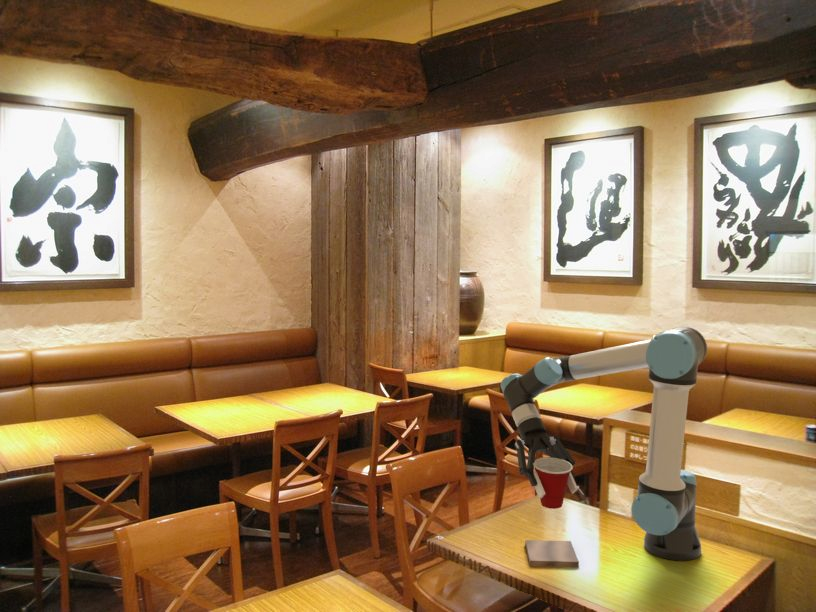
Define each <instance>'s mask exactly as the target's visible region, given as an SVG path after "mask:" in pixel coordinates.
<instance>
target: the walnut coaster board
mask: <svg viewBox="0 0 816 612" xmlns="http://www.w3.org/2000/svg"><path fill="white" fill-rule="evenodd" d="M524 541H525V542H524V543H525V550H526V554H527V557H528V562H529V566H530V567H551V568H552V567H556V568H557V567H559V568H560V567H561V568H579V567H580V564H579V563H580V561H579V559H578V557H577V554H576V551H575V548H574V547H573V544H572V541H571V540H536V539H534V540H533V539H525V540H524Z"/></svg>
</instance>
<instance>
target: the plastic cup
mask: <svg viewBox="0 0 816 612" xmlns="http://www.w3.org/2000/svg"><path fill="white" fill-rule="evenodd" d="M533 465H534V470H535V471H534V472H537V474H538V476H539V479H540V481H541V484H542V486H543V489H544V491H545V495H544V496H543V497H542V498H540V505H541V506H542V507H544V508H545V509H551V510H552V509H553V510H554V509H555V510H556V509H560V508H562V507H563V504H564V500H565V495H566V491H567V486H568V484H567V481H568V477H569V474H570V472H571V470H572V471H573V469H574V468H573V467H574V466H573V467H572V464H570V463H569V462H567V461H565V460H563V459H558V458H551V457H550V456H547V457H546V456H545V457H539V458H535V462H534V463H533Z"/></svg>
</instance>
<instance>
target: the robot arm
mask: <svg viewBox="0 0 816 612" xmlns="http://www.w3.org/2000/svg"><path fill="white" fill-rule="evenodd" d="M706 341H707V340H706V339H705V337H704V336H703V334H702V333H701V332H700V331H698V330H697V329H695V328H693V327H691V326H690V327H689V326H683V325H682V326H678V327H677V326H676V327H674V328H671V329H668V330H667V329H666V330H663V331H661V332H659V333H658V334H654V335H653V336H652V337H651V339H646V340H645V339H644V340H641V341H636V342H631V343H626V344H621V345H617V346H616V345H615V346H611V347H606V348H601V349H596V350H593V351H587V352H582V353H577V354H572V355H567V356H558V357H555V358H552V357H550V356H547V357H544V358H543V359H541V360H538V362H536V363H535V364H534V365H533V366H532V367H531V368H529V369H528V370H527V371H526V372H525V373H523V374H520V373H512V374H510V375H508V376H505V377H504V378H503V379H502V380H501V382H500V388H501V392H502V395H503V398H504V399H505V401H506V403H507V406H508V409H509V411H510V413H511V416H512V418H513V421H514V423H515V426H516V427H517V431H518V433H519V436H520V438H521V439H522V440H521V439H517V440H516V441H515V443H514V444H513V446H514V448H515V450H516V454H517V462H518V470H519V471H518V472H519V474H520V476H525V478H527V479H528V480H529V483H530V486H531V487H534V489H535V491H536V494H537V496H538V499H540V498H542V497H543V496H544V495H545V491H544V489H543V486H542V484H541V481H540V479H539V476H538V474H537V472H536V471H534V470H535V467H534V465H533V463H534V462H535V460H536V454H538V453H544V454H545V455H547V456H548V457H551V458H558V459H563V460H565V461H567V462H569V463H570V464H572V467H574V466H575V465H576V461H575V460H574V459H573V456H571V454H570V453H569V451H568V450H567V449H566V448H565V446H564V445H563V443H562V442H561V439H560V437H559V435H558V434H555V435H554V436H549V435H548V433H547V432H546V431H547V430H546V426H545V425H544V423H543V420H542V418H541V415H540V412H539V411H538V409H537V406H536V404H535V401H534V399H535V398H537V397H538V396H539V395H541V394H542V393H543V392H544V391H546V390H547V389H549V388H552V387H555V386H556V385H559V384H562V383H566V382H571V381H576V380H582V379H587V378H588V379H589V378H592V377H593V378H594V377H598V376H605V375H610V374H615V373H622V372H628V371H634V370H639V369H644V368H649V370H648V380H649V381H650V382H651V383H652V384H653V385H652V386H653V392H652V403H651V411H650V412H651V413H650V424H649V432H648V433H649V434H648V443H647V444H648V447H647V457H646V467H645V471H644V472H643V473H641V474H640V475H639V478H638V484H637V485H638V486H637V495H636V496H635V497H634V499H633V502H632V504H631V515H632V518H633V519H634V521H635V523H636V524H637V526H638V527H639V528H640V529H641V530H643V531H644V532H645V534H644V539H643V540H644V541H643V546H644V548H645V550H647V551H648V552H649V553H650V554H652V555H654V556H656V557H659V558H663V559H666V560H670V561H682V562H684V561H692V560H696V559H698V558H700V557H701V555H702V544H701V540H700V538H699V534H698V531H697V527H696V501H697V487H698V486H697V478H696V477H697V476H696V475H695V474H694V473H693V472H691V471H688V470H684V469H682V463H683V462H682V461H683V453H684V451H683V450H684V440H685V431H686V425H687V424H686V423H687V414H688V404H689V392H690V390H691V389H692V388H693V387H695V386H696V384H697V379H698V368H699V365H701V363H702V362H704V360H705V358H706V356H707V354H708V343H707V342H706ZM525 447H526V448H527V449H528V451H527V456H528V457H527V460H526V454H525V453H526V452H525ZM575 479H576V477H575V473H574V471H573V469H572V470H571V472H570V474H569V477H568V481H567V486H568V489H569V491H570V494H574V493H575V492H577V490H579V488H578V486H577V484H576V480H575Z"/></svg>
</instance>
